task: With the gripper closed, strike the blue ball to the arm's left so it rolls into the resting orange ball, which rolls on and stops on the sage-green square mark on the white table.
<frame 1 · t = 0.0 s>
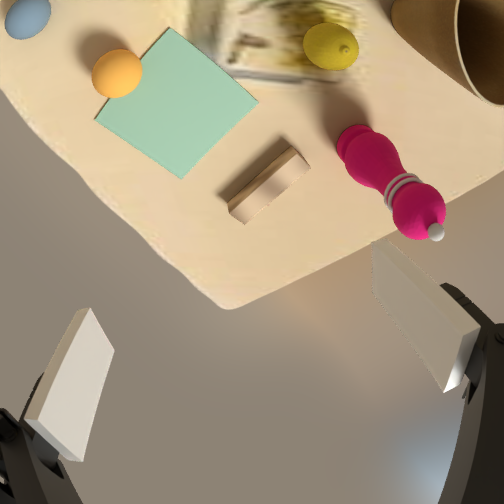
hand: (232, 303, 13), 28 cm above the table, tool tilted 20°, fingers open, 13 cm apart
lemon: (316, 42, 29), on the table
orange ball: (116, 73, 26), on the table
plant pot: (411, 16, 26), on the table
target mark: (174, 107, 32), on the table
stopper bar: (265, 181, 42), on the table
pepper mill: (355, 143, 40), on the table
blue ball: (27, 16, 17), on the table
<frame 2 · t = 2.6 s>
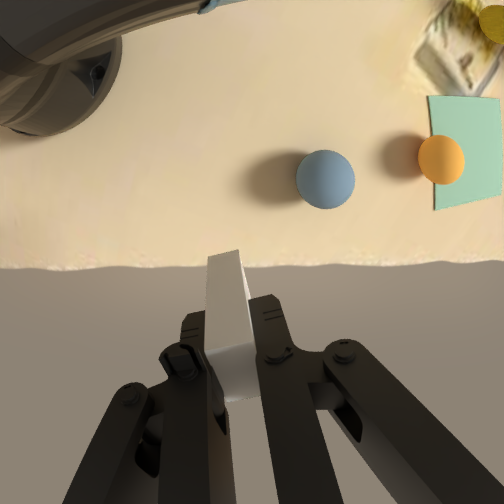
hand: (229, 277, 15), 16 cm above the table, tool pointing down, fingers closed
lemon: (480, 27, 23), on the table
orange ball: (441, 159, 27), on the table
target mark: (471, 150, 30), on the table
blue ball: (325, 179, 27), on the table
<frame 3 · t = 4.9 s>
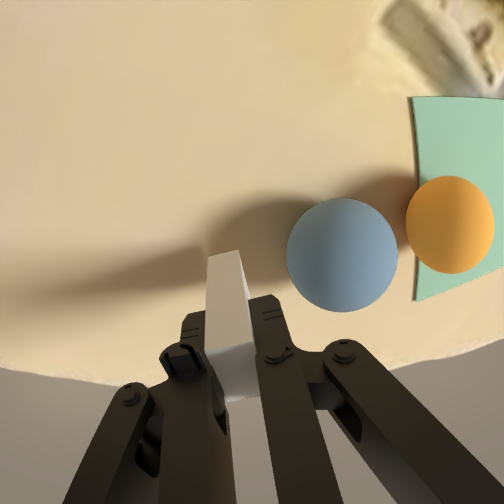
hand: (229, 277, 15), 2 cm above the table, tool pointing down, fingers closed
orange ball: (450, 224, 15), on the table
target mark: (488, 193, 17), on the table
blue ball: (342, 255, 15), on the table
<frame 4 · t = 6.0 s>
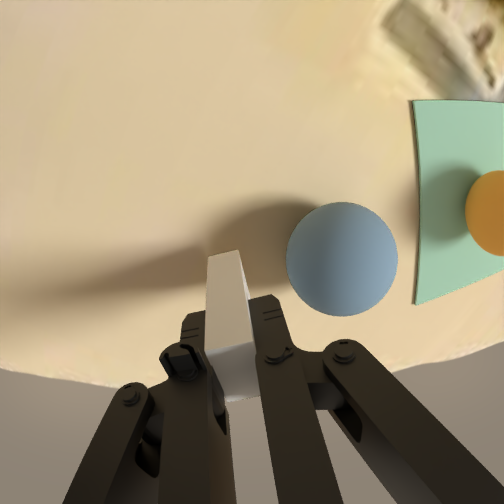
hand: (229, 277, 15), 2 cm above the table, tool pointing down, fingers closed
orange ball: (501, 213, 15), on the table
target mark: (489, 197, 17), on the table
blue ball: (342, 259, 15), on the table
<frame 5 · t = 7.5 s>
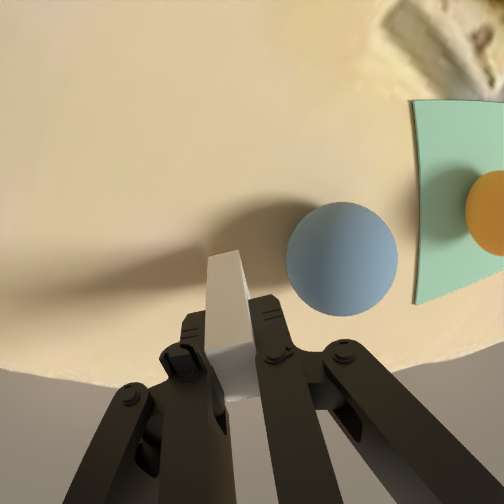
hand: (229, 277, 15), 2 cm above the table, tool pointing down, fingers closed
orange ball: (501, 213, 15), on the table
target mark: (489, 197, 17), on the table
blue ball: (342, 259, 15), on the table
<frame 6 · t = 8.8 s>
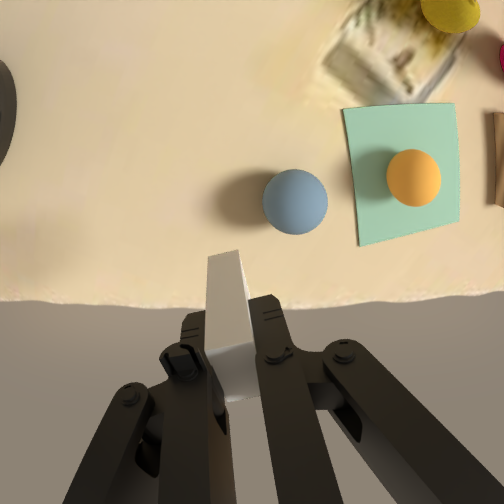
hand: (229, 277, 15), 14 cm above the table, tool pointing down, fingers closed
lemon: (427, 15, 21), on the table
orange ball: (413, 177, 26), on the table
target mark: (412, 170, 28), on the table
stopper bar: (502, 158, 28), on the table
blue ball: (295, 201, 26), on the table
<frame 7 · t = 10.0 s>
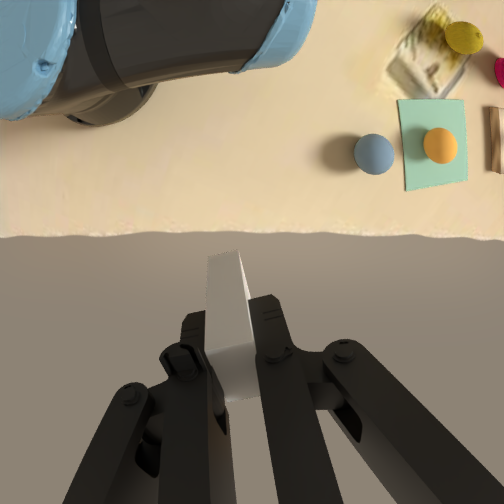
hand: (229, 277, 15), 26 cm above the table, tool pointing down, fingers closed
lemon: (447, 40, 32), on the table
orange ball: (440, 145, 37), on the table
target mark: (437, 142, 39), on the table
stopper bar: (495, 139, 40), on the table
pepper mill: (502, 73, 34), on the table
blue ball: (374, 154, 37), on the table
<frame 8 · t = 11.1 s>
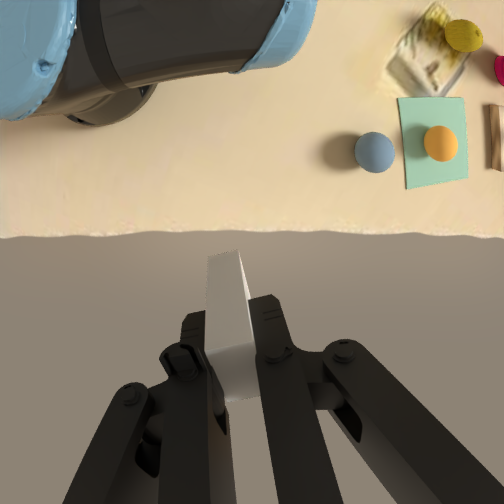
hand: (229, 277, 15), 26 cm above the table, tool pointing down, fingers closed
lemon: (447, 38, 32), on the table
orange ball: (440, 143, 37), on the table
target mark: (437, 140, 39), on the table
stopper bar: (496, 136, 39), on the table
pepper mill: (502, 71, 34), on the table
blue ball: (374, 152, 37), on the table
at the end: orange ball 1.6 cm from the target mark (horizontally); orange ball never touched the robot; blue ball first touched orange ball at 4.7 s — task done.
